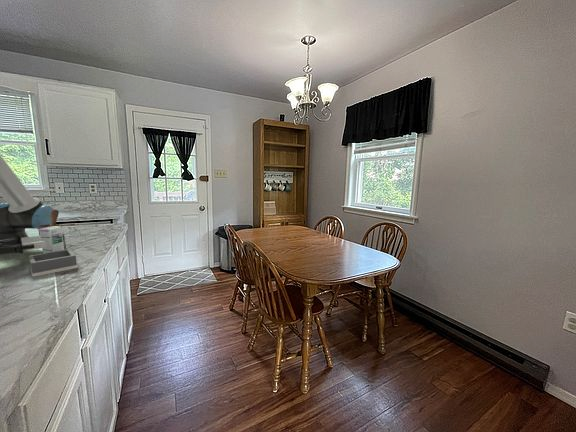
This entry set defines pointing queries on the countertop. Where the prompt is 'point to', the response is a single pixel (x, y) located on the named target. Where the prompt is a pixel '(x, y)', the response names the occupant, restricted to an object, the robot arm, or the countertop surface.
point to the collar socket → (52, 262)
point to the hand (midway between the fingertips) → (43, 241)
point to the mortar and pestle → (53, 220)
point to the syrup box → (53, 239)
